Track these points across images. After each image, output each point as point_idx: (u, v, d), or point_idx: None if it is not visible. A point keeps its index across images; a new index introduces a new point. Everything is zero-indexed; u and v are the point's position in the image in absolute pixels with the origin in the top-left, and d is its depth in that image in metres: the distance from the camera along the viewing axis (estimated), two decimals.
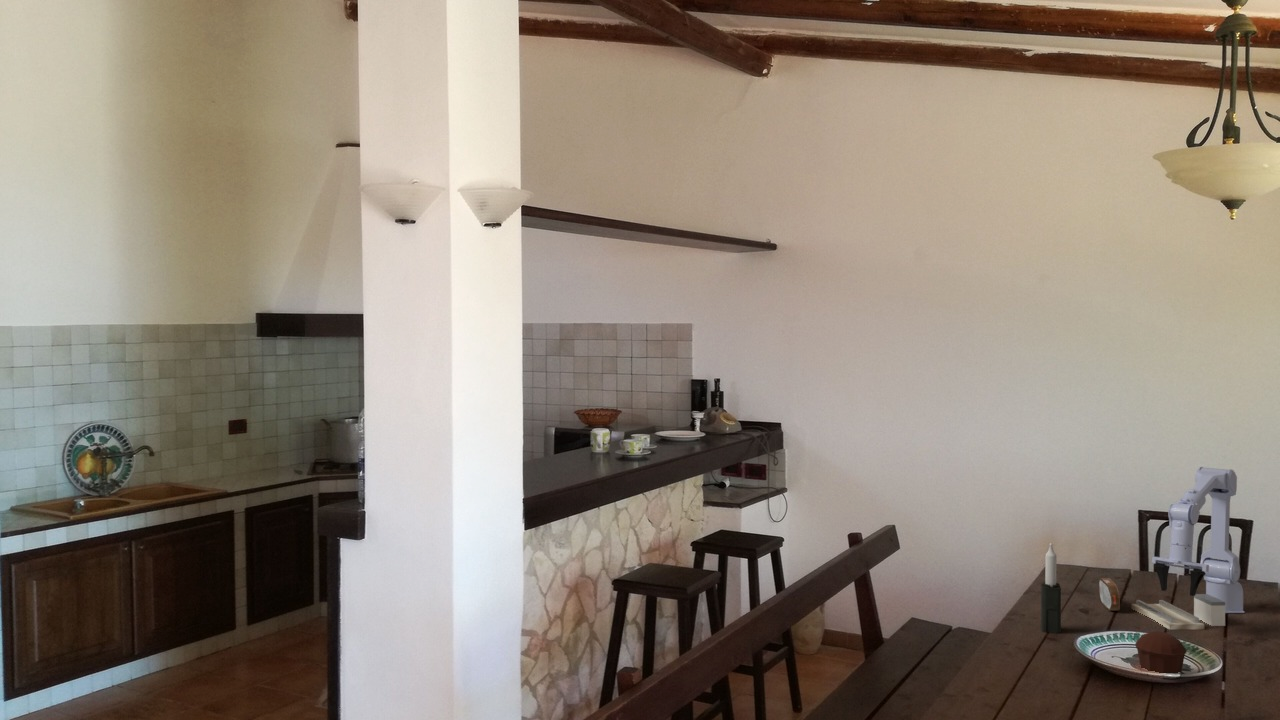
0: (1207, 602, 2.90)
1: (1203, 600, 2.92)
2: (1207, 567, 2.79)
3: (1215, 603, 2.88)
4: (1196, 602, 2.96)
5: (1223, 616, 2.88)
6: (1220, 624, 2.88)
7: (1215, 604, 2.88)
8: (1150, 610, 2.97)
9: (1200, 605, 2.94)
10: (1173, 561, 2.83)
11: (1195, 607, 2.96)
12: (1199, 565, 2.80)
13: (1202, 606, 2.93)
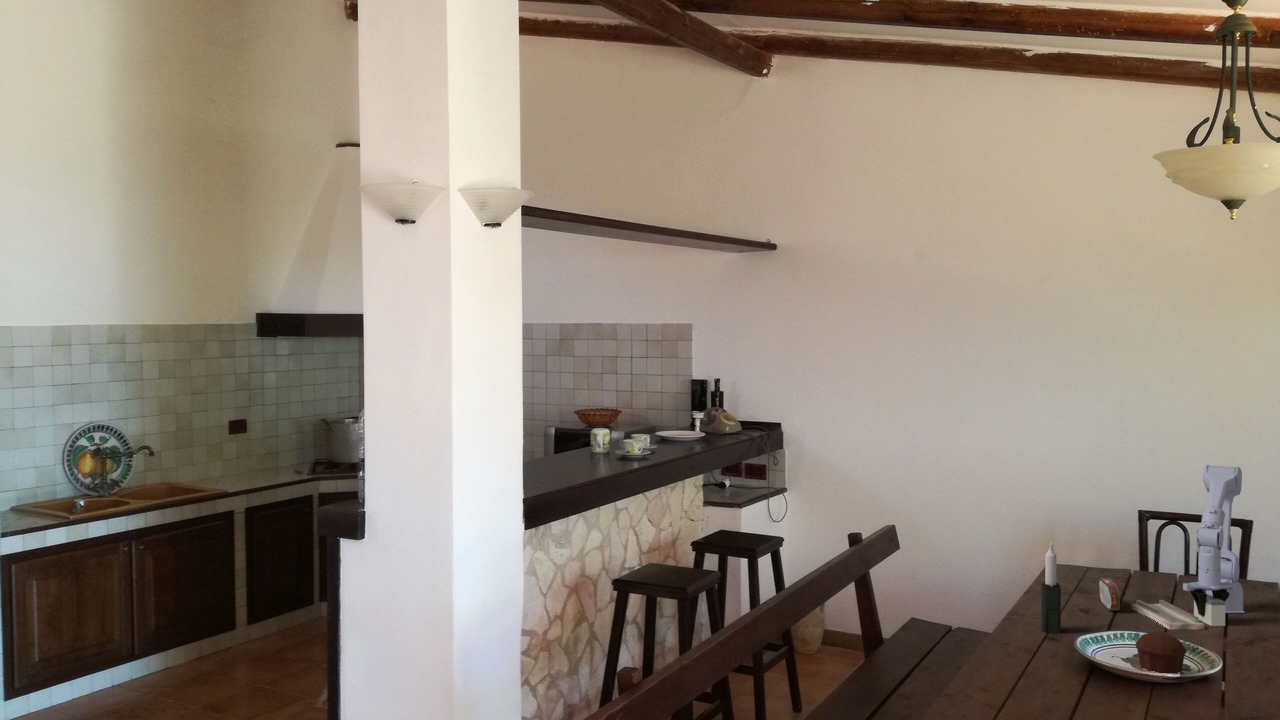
0: (1207, 602, 2.90)
1: None
2: None
3: (1215, 603, 2.88)
4: None
5: (1223, 616, 2.88)
6: (1220, 624, 2.88)
7: (1215, 604, 2.88)
8: (1150, 610, 2.97)
9: None
10: (1216, 588, 2.88)
11: (1195, 607, 2.96)
12: (1230, 586, 2.91)
13: None
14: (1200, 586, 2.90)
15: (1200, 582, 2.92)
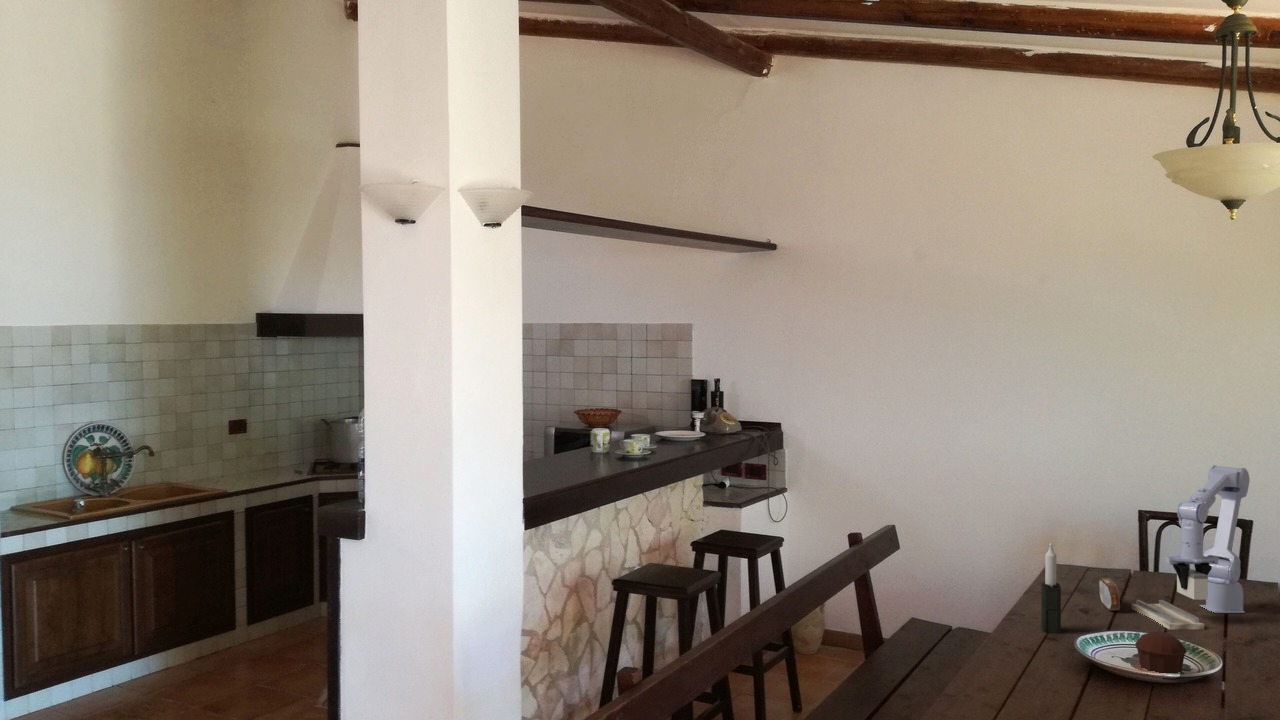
0: (1190, 576, 2.91)
1: None
2: None
3: (1198, 576, 2.89)
4: None
5: (1206, 589, 2.89)
6: (1203, 598, 2.89)
7: (1198, 577, 2.89)
8: (1150, 610, 2.97)
9: None
10: (1198, 561, 2.89)
11: (1178, 581, 2.97)
12: (1213, 559, 2.92)
13: None
14: (1183, 559, 2.91)
15: (1183, 556, 2.93)
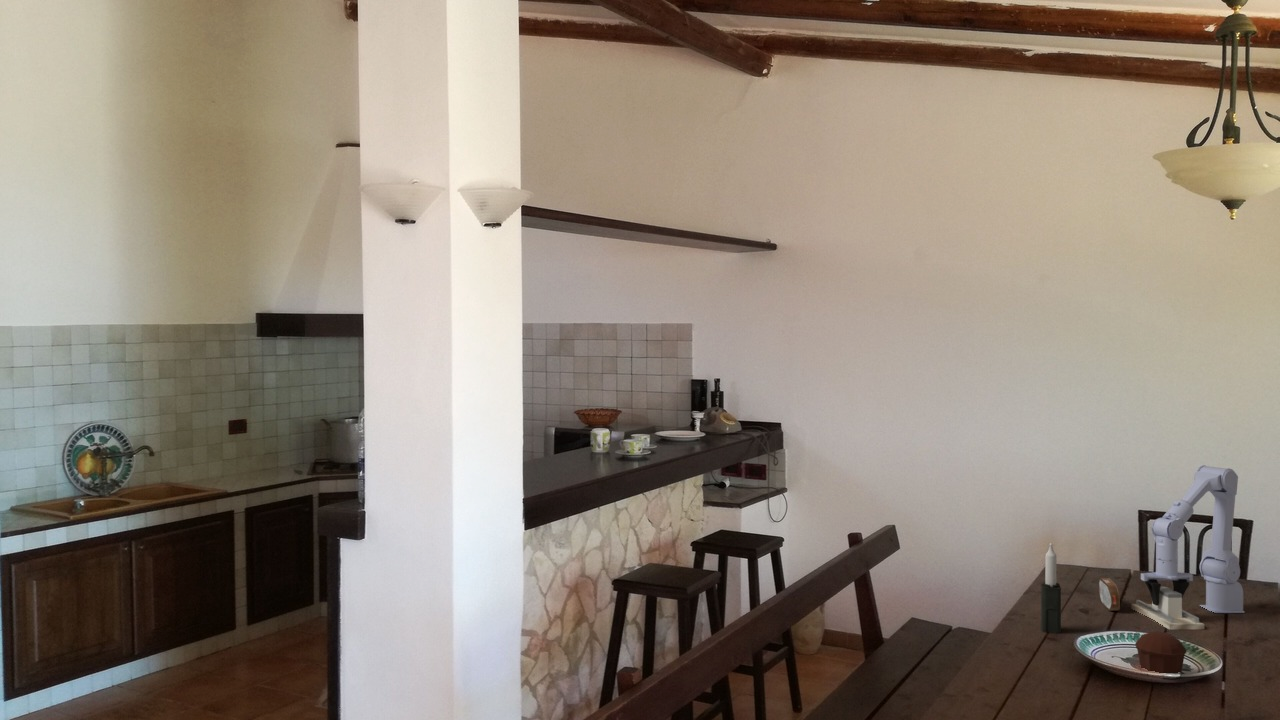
0: (1164, 594, 2.93)
1: (1161, 592, 2.95)
2: None
3: (1172, 595, 2.91)
4: None
5: (1180, 608, 2.91)
6: (1177, 616, 2.91)
7: (1172, 596, 2.91)
8: (1150, 610, 2.97)
9: None
10: (1172, 578, 2.91)
11: None
12: (1187, 576, 2.94)
13: (1159, 598, 2.95)
14: (1157, 576, 2.93)
15: (1157, 572, 2.95)
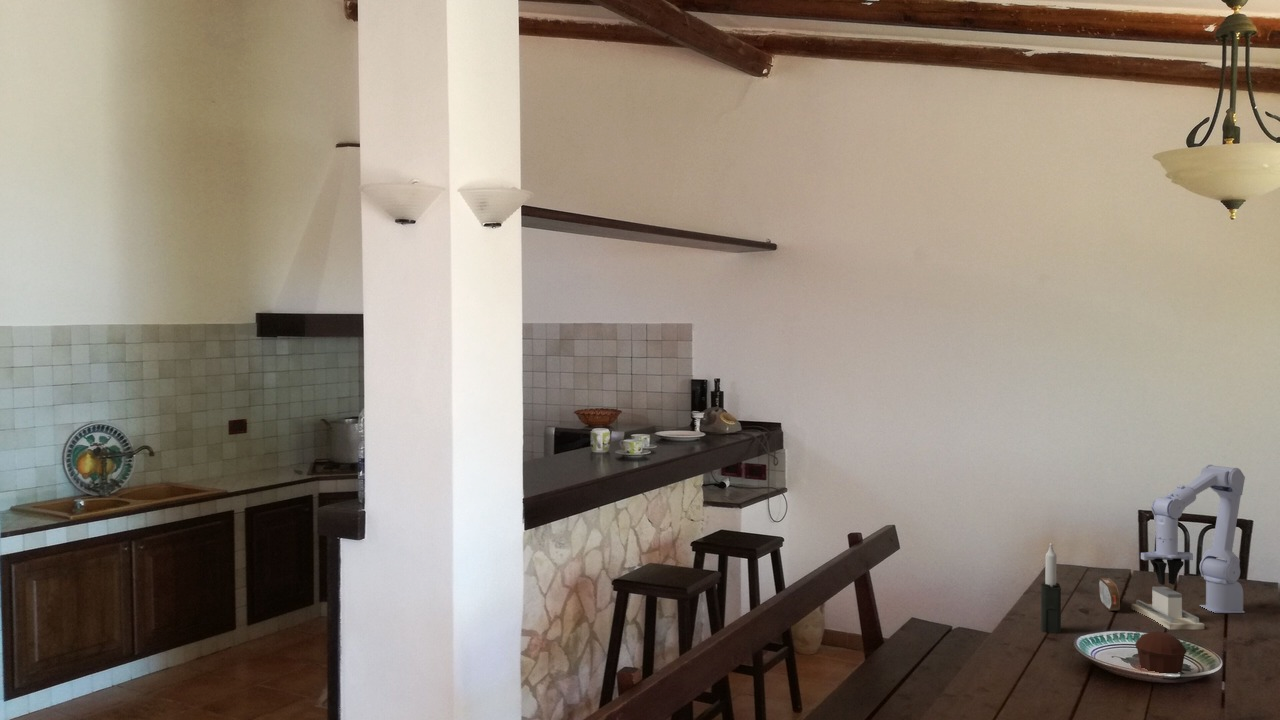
0: (1164, 594, 2.93)
1: (1161, 592, 2.95)
2: None
3: (1172, 595, 2.91)
4: (1154, 595, 2.99)
5: (1180, 608, 2.91)
6: (1177, 616, 2.91)
7: (1172, 596, 2.91)
8: (1150, 610, 2.97)
9: (1158, 597, 2.96)
10: (1172, 557, 2.91)
11: (1153, 599, 2.99)
12: (1187, 555, 2.94)
13: (1159, 598, 2.95)
14: (1157, 555, 2.93)
15: (1157, 551, 2.95)
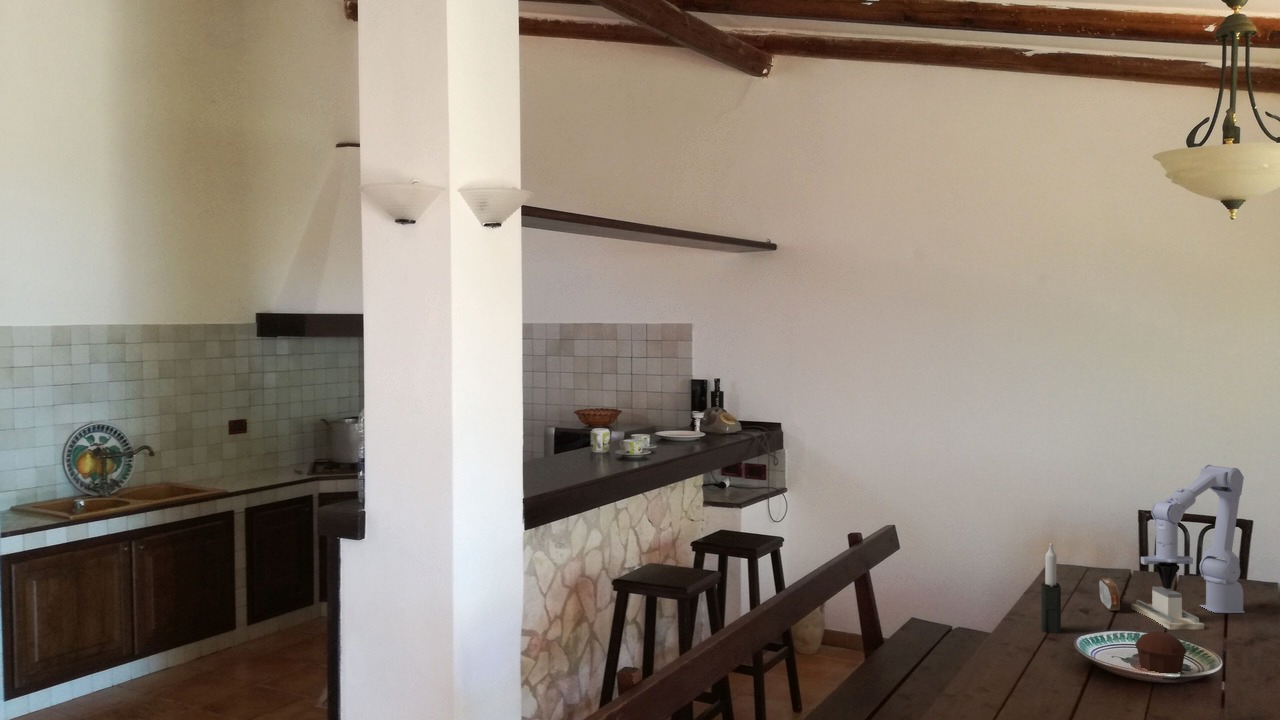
0: (1164, 594, 2.93)
1: (1161, 592, 2.95)
2: None
3: (1172, 595, 2.91)
4: (1154, 595, 2.99)
5: (1180, 608, 2.91)
6: (1177, 616, 2.91)
7: (1172, 596, 2.91)
8: (1150, 610, 2.97)
9: (1158, 597, 2.96)
10: (1172, 561, 2.91)
11: (1153, 599, 2.99)
12: (1187, 559, 2.94)
13: (1159, 598, 2.95)
14: (1157, 559, 2.93)
15: (1157, 556, 2.95)
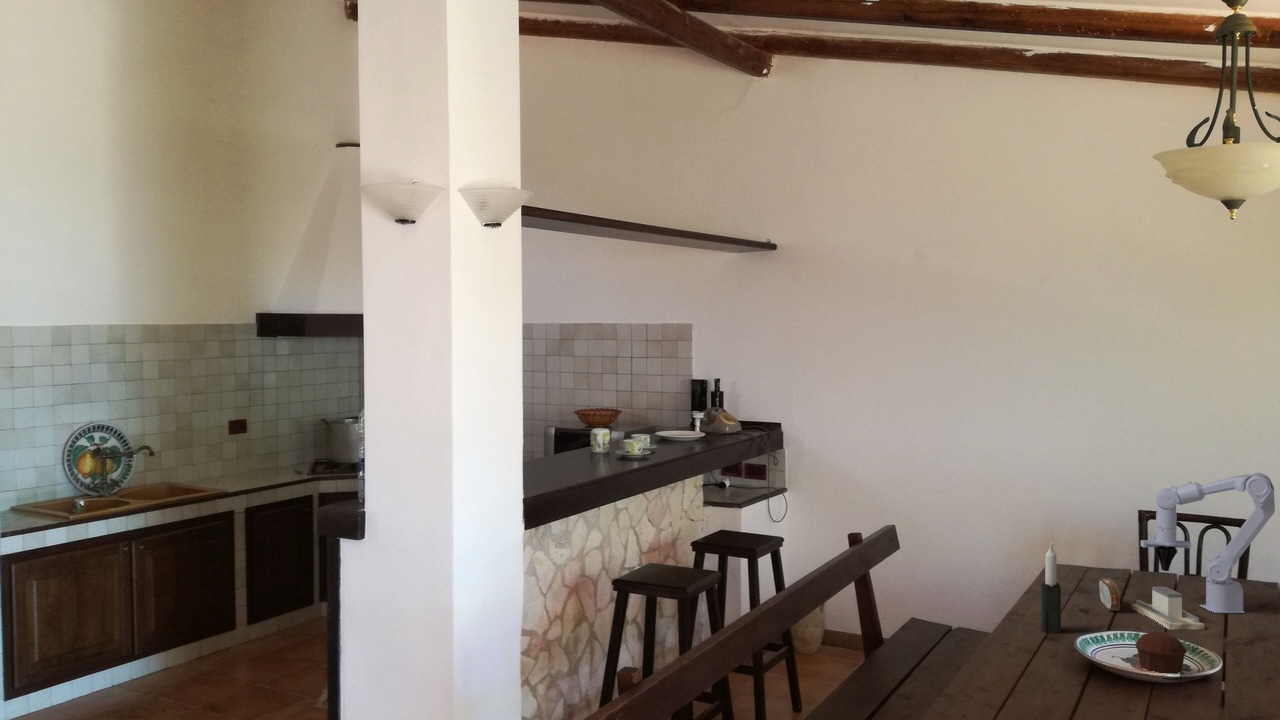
0: (1164, 594, 2.93)
1: (1161, 592, 2.95)
2: None
3: (1172, 595, 2.91)
4: (1154, 595, 2.99)
5: (1180, 608, 2.91)
6: (1177, 616, 2.91)
7: (1172, 596, 2.91)
8: (1150, 610, 2.97)
9: (1158, 597, 2.96)
10: (1170, 544, 3.08)
11: (1153, 599, 2.99)
12: (1185, 543, 3.11)
13: (1159, 598, 2.95)
14: (1156, 543, 3.11)
15: (1157, 539, 3.12)
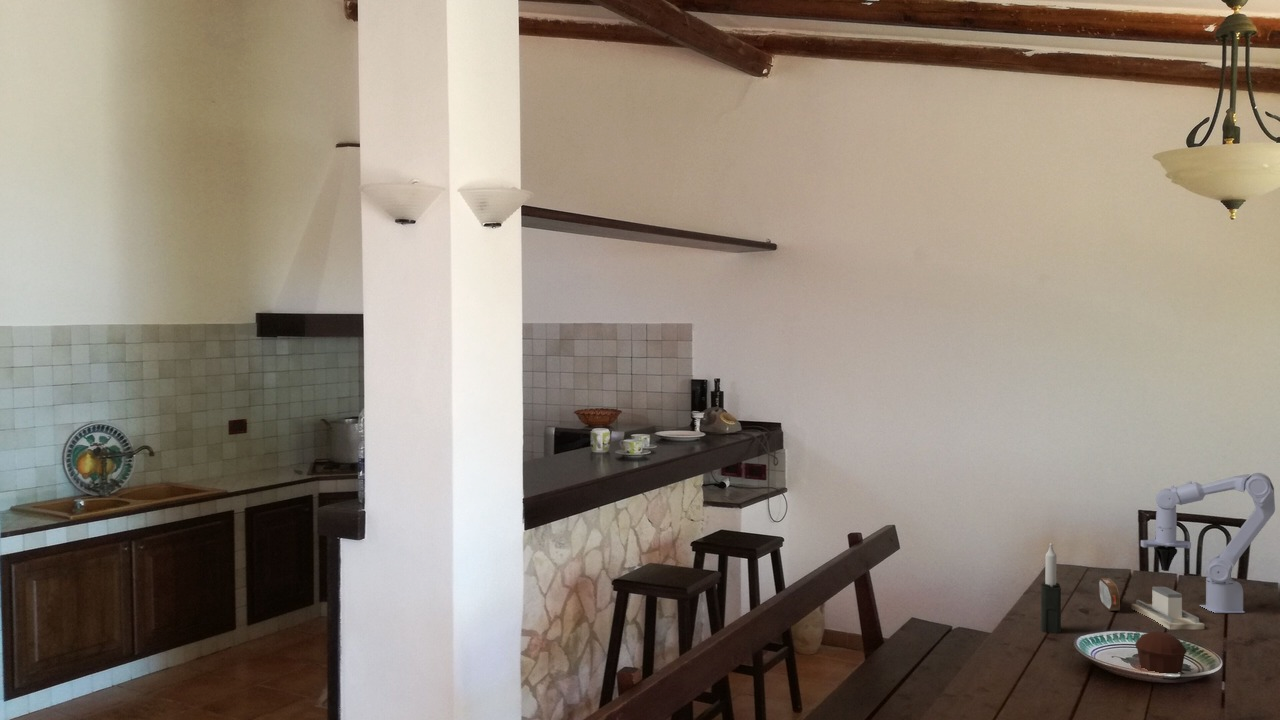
0: (1164, 594, 2.93)
1: (1161, 592, 2.95)
2: None
3: (1172, 595, 2.91)
4: (1154, 595, 2.99)
5: (1180, 608, 2.91)
6: (1177, 616, 2.91)
7: (1172, 596, 2.91)
8: (1150, 610, 2.97)
9: (1158, 597, 2.96)
10: (1170, 544, 3.08)
11: (1153, 599, 2.99)
12: (1185, 543, 3.11)
13: (1159, 598, 2.95)
14: (1156, 543, 3.11)
15: (1157, 539, 3.12)
